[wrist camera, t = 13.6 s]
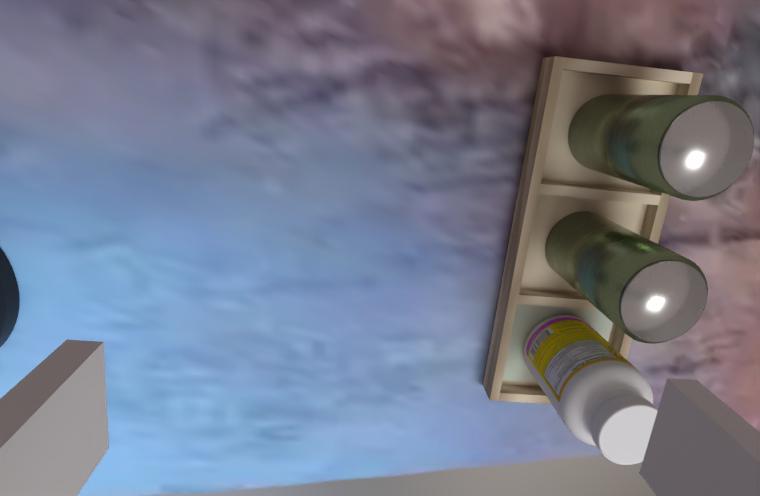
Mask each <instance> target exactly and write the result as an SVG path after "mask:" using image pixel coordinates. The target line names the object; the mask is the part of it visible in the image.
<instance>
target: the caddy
mask: <svg viewBox="0 0 760 496" xmlns="http://www.w3.org/2000/svg"><path fill="white" fill-rule="evenodd" d="M702 77H703V74H701V73H692V72H684V71H675V70H667V69H659V68H650V67H642V66H633V65H625V64H617V63H608V62H600V61H591V60H583V59H575V58H566V57H558V56H552V57H546V58H542V64H541V69H540V75H539V80H538V86H537V91H536V96H535V102H534V107H533V113H532V118H531V124H530V129H529V135H528V140H527V146H526V151H525V157H524V162H523V168H522V173H521V179H520V184H519V190H518V195H517V200H516V206H515V211H514V217H513V222H512V228H511V233H510V239H509V244H508V250H507V255H506V261H505V266H504V272H503V277H502V283H501V288H500V294H499V299H498V305H497V310H496V315H495V321H494V326H493V332H492V337H491V343H490V348H489V354H488V359H487V365H486V370H485V376H484V381H483V387H484V389H485V391H486V393H487V395H488V398H489V400H493V401H510V402H527V403H544V404H552V403H551V402H550V400H549V399H548V397H547V396H546V394H545V393H544V391H543V390H542V388H541V387H540V385H539V384H538V382H537V381H536V380H535V378H534V377H533V375H532V373H531V372H530V370H529V368H528V367H527V364H526V362H525V358H524V347H525V343H526V340H527V338H528V336H529V334H530V333H531V331H532V330H533V329H534V328H535V327H536V326H537V325H538V324H539V323H541V322H542V321H544V320H546V319H548V318H551V317H554V316H557V315H571V316H575V317H578V318H580V319H582V320H584V321H585V322H587V323H588V324H589V325H590V326H591V327H593V328H594V329H595V330H596V331H597V332H598V333H599V334H600V335H601V336H602V337H603V338H604V339H605V340H606V341H607V342H608V343H609V344H611V345H612V346H613V347H614V348H615V349H616V350H617V351H618V352H619V353H620V354H621V355H622V356H623V357H624V358H625V359H626V360H627V357H628V353H629V349H630V345H631V342H632V338H631V337H629V336H628V335H626V334H625V333H624V332H623V331H622V330H621V329H620V328H618V327H617V326H616V325H615V324H614V323H613V322H612V321H610V320H609V319H608V318H607V317H606V316H605V315H604V314H603V313H601V312H600V311H599V310H598V309H597V308H596V307H595V306H593V305H592V304H591V303H590V302H589V301H588V300H587V299H585V298H584V297H583V296H582V295H581V294H580V293H579V292H577V291H576V290H575V289H574V288H573V287H572V286H571V285H570V284H568V283H567V282H566V281H565V280H564V279H563V278H562V277H560V276H559V275H558V274H557V273H556V272H555V271H554V270H553V269H552V268H551V267H550V265H549V264H548V262H547V259H546V255H545V244H546V239H547V237H548V234H549V232H550V231H551V229H552V228H553V226H554V225H555V224H556V223H557V222H558V221H559V220H560V219H562V218H563V217H565V216H567V215H569V214H571V213H575V212H580V211H589V212H593V213H596V214H599V215H601V216H603V217H605V218H607V219H609V220H611V221H613V222H615V223H617V224H619V225H621V226H623V227H625V228H627V229H629V230H631V231H633V232H635V233H637V234H639V235H641V236H643V237H645V238H647V239H649V240H651V241H653V242H655V243H657V244H658V241H659V237H660V234H661V230H662V226H663V222H664V219H665V215H666V211H667V207H668V204H669V200H670V196H671V195H668V194H665V193H661V192H658V191H655V190H652V189H649V188H646V187H643V186H640V185H637V184H634V183H631V182H628V181H625V180H621V179H618V178H615V177H612V176H609V175H606V174H603V173H600V172H597V171H594V170H591V169H588V168H586V167H584V166H582V165H581V164H579V163H578V162H577V161H576V159H575V158H574V157H573V155H572V153H571V151H570V148H569V144H568V131H569V126H570V123H571V121H572V119H573V117H574V115H575V113H576V112H577V111H578V109H579V108H580V107H581V106H582V105H583V104H584V103H586V102H587V101H589V100H590V99H592V98H594V97H597V96H600V95H604V94H642V95H698V92H699V88H700V84H701V81H702Z"/></svg>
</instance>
